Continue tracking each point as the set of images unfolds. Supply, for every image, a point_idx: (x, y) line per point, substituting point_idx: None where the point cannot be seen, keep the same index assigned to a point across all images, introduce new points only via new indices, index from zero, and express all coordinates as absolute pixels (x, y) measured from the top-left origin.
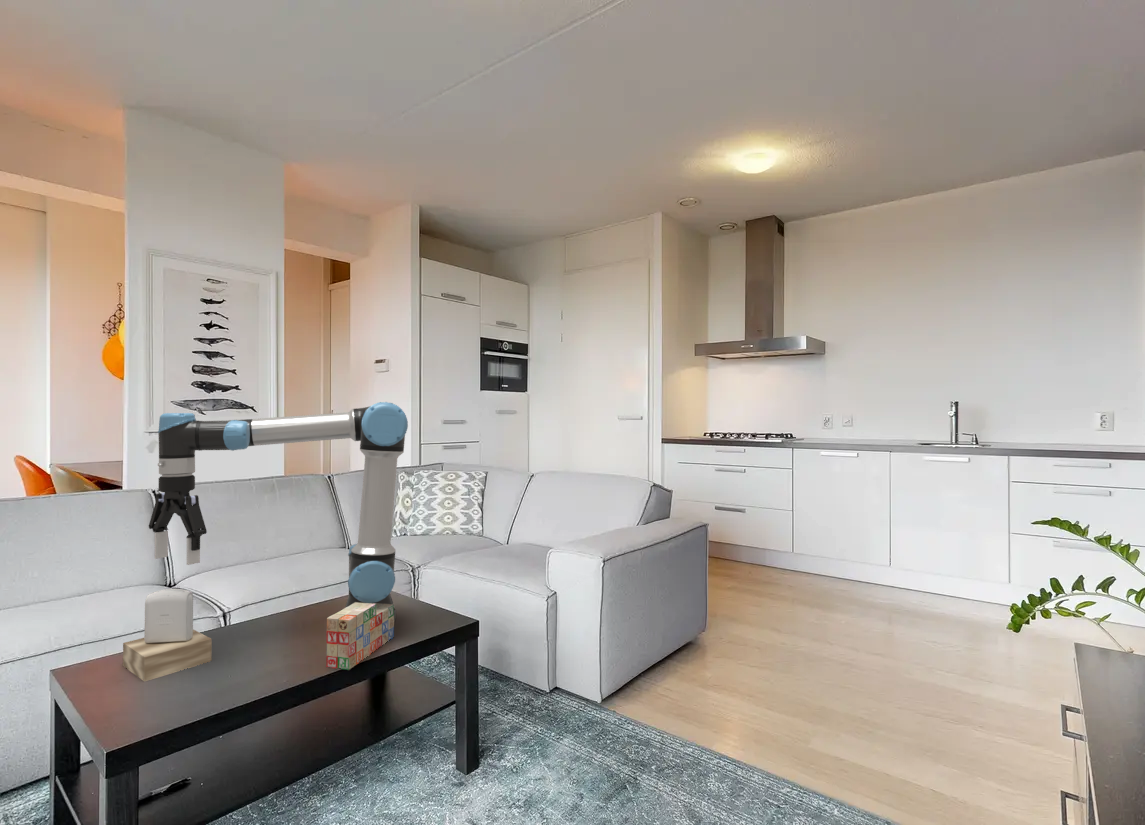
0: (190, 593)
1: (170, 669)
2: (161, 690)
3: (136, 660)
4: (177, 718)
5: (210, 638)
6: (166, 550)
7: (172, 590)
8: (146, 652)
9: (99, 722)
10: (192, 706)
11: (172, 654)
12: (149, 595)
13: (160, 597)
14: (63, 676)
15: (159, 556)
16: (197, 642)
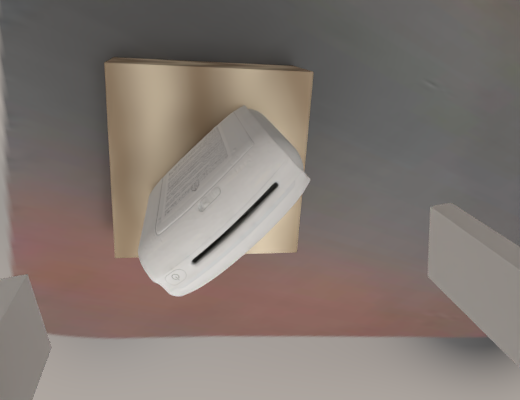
0: (289, 157)
1: None
2: (364, 217)
3: None
4: (510, 240)
5: (306, 72)
6: (12, 314)
7: (251, 229)
8: (261, 239)
9: (400, 327)
10: (493, 205)
11: None
12: (184, 291)
13: (235, 261)
14: (80, 331)
15: (41, 337)
16: (306, 116)
